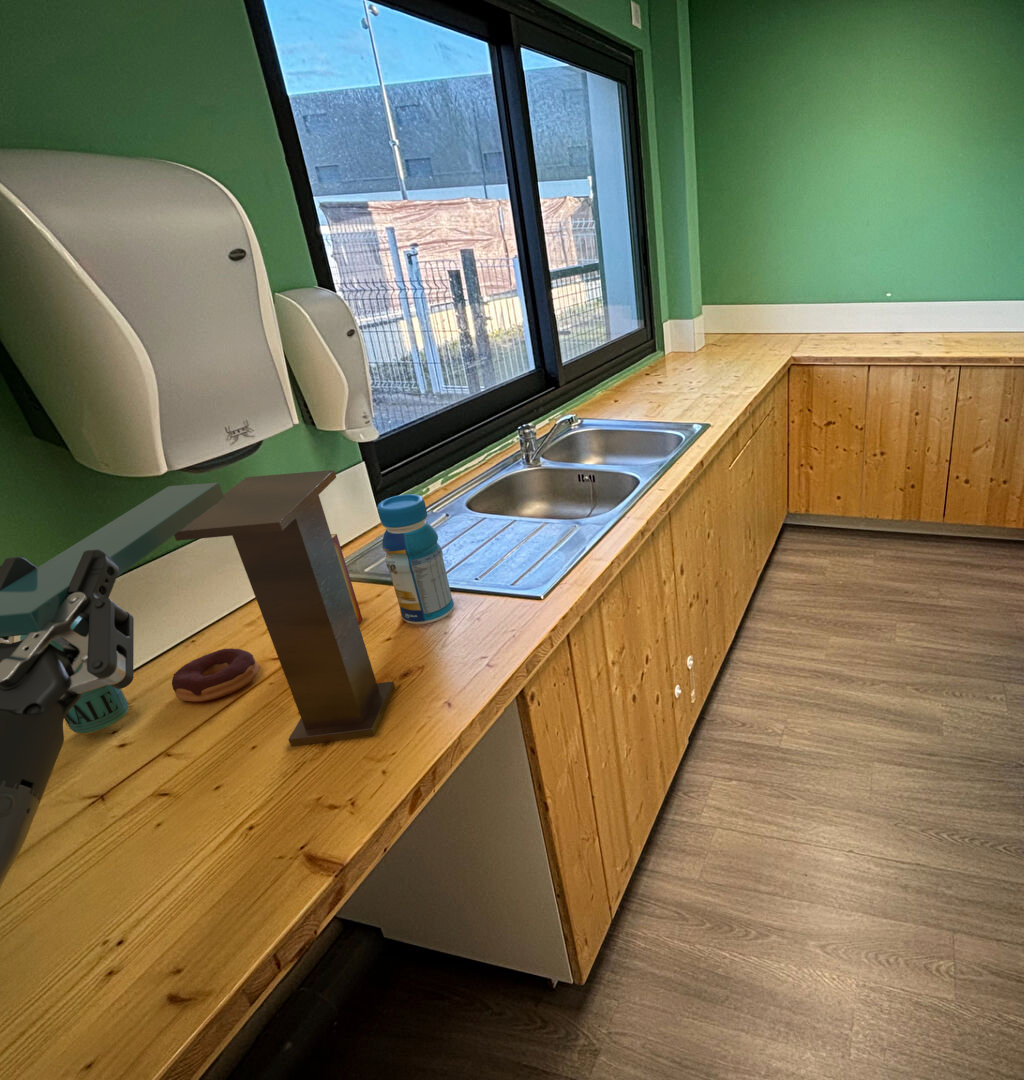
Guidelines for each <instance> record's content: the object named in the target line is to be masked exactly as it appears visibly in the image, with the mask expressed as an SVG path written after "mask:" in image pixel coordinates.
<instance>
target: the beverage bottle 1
mask: <svg viewBox="0 0 1024 1080" xmlns="http://www.w3.org/2000/svg"><path fill="white" fill-rule="evenodd" d="M81 619H82V618H81V617H80V616H78V617H77V618H76V620H75V621H74V622H73V624H72V625H71V629H72V630H73V629H74V628H75V627H76V625H77V624H78V623H79V621H80V620H81ZM26 636H27V635H20V637H19V641H21V640H24V639H25V637H26ZM49 644H51V645H53V646H54V647H56V648H58V649H59V650H61V651H62V652H63V647H62V645H60V644H59V643H57V642H56V641H54V640H52V641H51V642H50V643H49ZM82 662H83V661H82ZM81 665H82V663H81V664H80V665H79V667H78V668H77V669H76V671H75V673H77V672H78V671H79V669H80V668H81ZM129 710H130V704H129V699H128V698H127V697H126V696H125V693H124V691H123V689H116V688H114V687H112V686H111V685H105V686H102V687H99V688H96V689H93V690H90V691H87V692H84V693H82V695H81V697H80V699H79V700H78V702H77V703H76V704H75V705H74V706H73V707H72V708H71V709H70V710H69V711H68V713H67V714H66V716H65V717H64V722H65V726H66V727H67V728H68V729H69V730H70V731H72V732H73V733H76V734H91V733H93V732H97V731H101V730H103V729H106V728H108V727H110V726H113V725H114V724H116V723H118V722H119V721H120V720H122V719H123V718H124V717H126V716H127V714H128V712H129Z"/></svg>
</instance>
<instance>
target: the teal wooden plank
mask: <svg viewBox="0 0 1024 1080" xmlns="http://www.w3.org/2000/svg"><path fill="white" fill-rule="evenodd" d="M223 494H224V493H223V490H222V488H221V485H220V482H210V483H209V482H207V483H206V482H205V483H193V484H181V485H179V484H178V485H169V486H166V487H165V488H163V489H162V490H160V491H159V492H157V493H155V494H153V495H152V496H150V497H148V498H147V499H146V500H144V501H142V502H141V503H139V504H138V505H136V506H134V507H133V508H131V509H130V510H128V511H126V512H124V513H123V514H121V515H120V516H118V517H116V518H115V519H113V520H112V521H110V522H109V523H106V524H105V525H104V526H102V527H101V528H99V529H97V530H96V531H93V533H91V534H89V535H88V536H86V537H85V538H82V539H81V540H79V541H78V542H77V543H75V544H73V545H72V546H69V548H66V549H65V550H63V551H62V552H60V553H59V554H57V555H55V556H54V557H52V558H51V559H49V560H47V561H45V562H44V563H43V564H40V565H39V566H37V568H36V569H34V570H33V571H31V572H30V573H28V574H26V575H25V576H23V577H22V578H20V579H18V580H17V581H15V582H13V583H12V584H10V585H9V586H7V587H5V588H4V589H2V590H1V591H0V637H9V636H14V637H16V636H17V637H19V636H20V637H21V635H28V634H29V633H31V632H39V631H41V629H42V627H43V625H44V623H45V622H47V621H52V620H53V619H54V617H55V614H56V612H57V610H58V608H59V606H60V605H61V604H62V602H63V601H64V600H65V599H66V598H67V597H68V596H69V595H70V594H68V593H67V591H68V589H69V584H70V582H71V580H72V577H73V575H74V573H75V571H76V568H77V566H78V564H79V562H80V559H81V557H82V555H83V553H84V552H85V551H86V550H96V549H99V550H101V551H102V552H104V553H105V554H106V555H107V556H109V557H110V558H111V559H112V560H113V561H114V562H115V565H117V566H118V569H119V573H118V576H117V578H118V577H119V576H121V575H122V574H123V573H125V572H127V571H128V570H129V569H131V568H132V567H133V566H134V565H136V564H137V563H138V562H140V561H141V560H143V559H144V558H145V557H146V556H148V555H149V554H150V553H152V552H154V551H155V550H156V549H157V548H159V547H160V546H161V545H163V544H164V543H165V542H167V541H169V539H171V538H173V537H174V535H175V534H176V533H178V532H179V531H180V530H182V529H183V528H184V527H186V526H187V525H188V524H190V523H191V522H192V521H194V520H195V519H196V518H198V517H199V516H200V515H202V514H203V513H205V512H206V511H207V510H209V509H210V508H211V507H213V506H214V505H215V504H217V503H218V502H219V501H221V500H222V499H223V498H224V496H223Z"/></svg>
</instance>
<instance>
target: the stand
mask: <svg viewBox="0 0 1024 1080" xmlns="http://www.w3.org/2000/svg"><path fill="white" fill-rule="evenodd" d="M336 478H337V475H336V471H335V470H334V469H329V470H317V471H304V472H293V473H281V474H267V475H254V476H246V477H245V478H244V479H242V480H241V481H239V482H238V483H237V484H235V485H234V486H233V487H231V488H230V489H228V490H227V491H226V492H225V493H223V496H224V498H223V499H222V500H221V501H219V502H218V503H217V504H215V505H214V506H213V507H211V508H210V509H209V510H207V511H206V512H205V513H203V514H202V515H200V516H199V517H198V518H196V519H195V520H194V521H192V522H191V523H190V524H188V525H187V526H186V527H184V528H183V529H182V530H180V531H179V532H178V533H176V534H175V535H173V537H174V538H175V541H176V542H177V541H189V540H200V539H210V538H212V539H213V538H222V537H231V536H232V539H233V542H234V544H235V547H236V549H237V552H238V554H239V557H240V559H241V562H242V565H243V568H244V571H245V573H246V576H247V579H248V581H249V584H250V586H251V589H252V593H253V594H254V597H255V600H256V603H257V605H258V607H259V611H260V613H261V616H262V618H263V621H264V624H265V626H266V629H267V631H268V634H269V637H270V639H271V642H272V646H273V648H274V650H275V653H276V655H277V658H278V661H279V663H280V666H281V670H282V671H283V674H284V676H285V679H286V681H287V685H288V687H289V690H290V692H291V695H292V698H293V700H294V703H295V706H296V709H297V711H298V714H299V717H300V719H299V720H298V722H297V724H296V726H295V727H294V729H293V730H292V732H291V734H290V735H289V737H288V739H287V740H288V742H289V745H290V747H298V746H304V745H312V744H320V743H329V742H336V741H345V740H353V739H361V738H367V737H375V734H376V733H377V730H378V728H379V726H380V723H381V721H382V719H383V716H384V714H385V713H386V710H387V707H388V705H389V704H390V701H391V698H392V696H393V694H394V691H395V690H396V686H395V684H394V681H385V682H378V683H377V679H376V676H375V673H374V670H373V666H372V663H371V660H370V657H369V653H368V650H367V647H366V644H365V640H364V638H363V634H362V630H361V628H360V624H358V621H357V617H356V614H355V611H354V608H353V604H352V601H351V598H350V595H349V592H348V588H347V585H346V582H345V579H344V575H343V572H342V569H341V566H340V562H339V559H338V556H337V553H336V550H335V546H334V543H333V540H332V537H331V534H332V533H331V531H330V527H329V524H328V521H327V520H328V519H327V517H326V514H325V511H324V508H323V505H322V501H321V497H320V494H321V493H322V492H324V490H326V488H327V487H328V486H330V485H331V484H332V483H333V482H334V480H336Z"/></svg>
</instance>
